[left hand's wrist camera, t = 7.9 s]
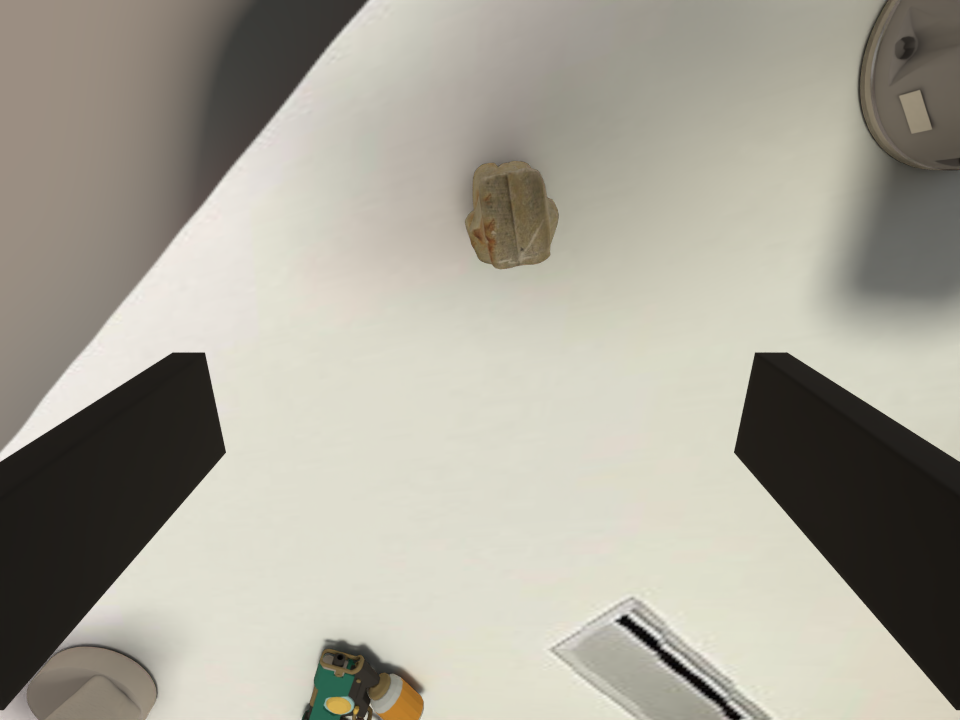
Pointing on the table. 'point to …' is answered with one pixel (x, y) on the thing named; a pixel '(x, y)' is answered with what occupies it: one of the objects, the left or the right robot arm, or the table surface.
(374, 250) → the table surface
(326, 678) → the spray gun
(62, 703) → the bust sculpture
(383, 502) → the table surface
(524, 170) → the sculpture
